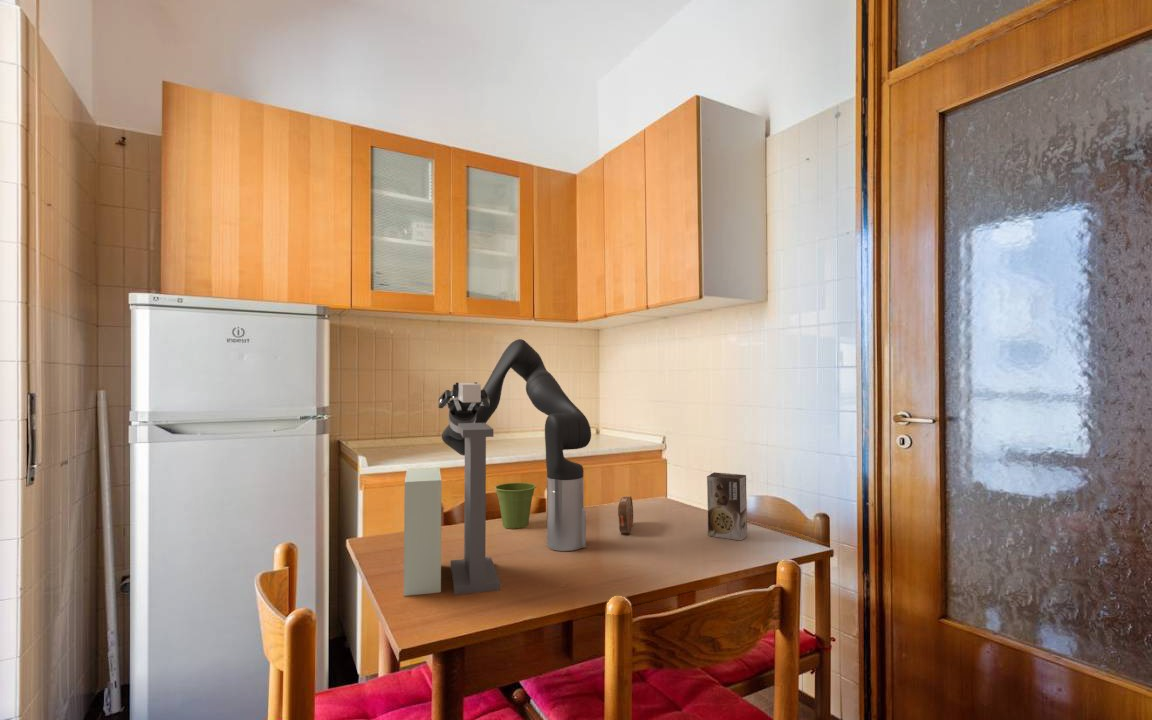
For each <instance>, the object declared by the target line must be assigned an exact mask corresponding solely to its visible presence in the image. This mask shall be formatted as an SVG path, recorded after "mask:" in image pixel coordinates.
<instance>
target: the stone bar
mask: <svg viewBox="0 0 1152 720" xmlns="http://www.w3.org/2000/svg"><path fill="white" fill-rule="evenodd" d="M458 383H459V392H458V396H457V397H458V399H459V400H460V401H461V402H463V403H466V402H481V390H482V386H481V385H482V384H479V383H477V384H476V383H474V382H458Z"/></svg>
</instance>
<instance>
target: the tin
mask: <svg viewBox="0 0 1152 720" xmlns="http://www.w3.org/2000/svg"><path fill="white" fill-rule="evenodd" d="M633 504H634V503H633V498H632V496H622V497H621V499H620V501H619V502H618V506H617V507H618V508H617V516H618V523H619V524H618V530H619V533H620V534H629V535H630V534H631V532H632V529H633V526H634V507H633Z"/></svg>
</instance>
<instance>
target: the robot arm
mask: <svg viewBox="0 0 1152 720" xmlns="http://www.w3.org/2000/svg"><path fill="white" fill-rule="evenodd" d="M510 369H512V370H513V371H514V372H515V373H516V374H517V375H518V376H520V377H521V378H522V379H523V380H524V381H525V382H526V383H525V392H526V395H527V397H528V398H529V400H530V402H531V404H533V407H535V409H537V411H540V412H541V413H543V414H544V415H546V416H547V417H546V419H545V423H544V443H545V464H546V547H547V548H548V549H550V550H553V551H559V552H561V551H562V552H569V551H570V552H571V551H576V550H580V549H582V548H583V549H584V548H586V547H587V509H586V507H584V499H585V498H584V497H585V496H584V475H585V474H584V471H585V470H584V466H583V465H582V464H581V463H578V462H574V461H572V460H569V459H567V458H566V457H565V455H564V451H568V450H580V449H584V448H585V447H587V446H588V445H589V443H590V441H591V439H592V429H591V425H590V423H589V420H588V419H587V417H586V415H585V414H584V413H583V411H581V410H580V409H579V408H578V407H577V406H576V405H575V404H574V403H573V402H572V400H571V399H570V398H569V397H568V395H567V394H566V393H565V392H564V390H563V389H562V387H561V386H560V383H558V381H557V380H556V378H555V376H553V374H551V372H549V371H548V370H547V368H546V366H545V364H544V361H543V360H542V357H541V355H540V354H539V353H538V352H537V351H536V350H535V348H533V347H532V346H531V345H530V344H529V342H527V341H525V340H524V339H522V338H519V339H516V340H513V341H512V342H511V343H510V344H509V345H508V346H507V347H506V349H505V350H504V351H503V353H502V354H501V356H500V358H499V360H498V361H497V363H496V365H495V366H494V369H493V370H492V372H491V373H490V376H489V378H488V379H487V382H486V383H485V385H484V387H483V388H481V402H466V403H463V402H461V401H460V400H459V399H458V397H457V396H458V392H459V383H460V382H455V384H454V383H453V384H452V388H451V389H452V390H450V389H446V390H445V391H444V392H443V393H441V395H440V397H439V398H438V409H443V408H444V407H448V408H447V409H448V425H447V426H446V427H445V429H443V432H442V433H441V440H442V442H443V443H444V444H445V445H447V446H448V447H449V448H451V449H452V450H454V451H455V452H456V453H458V454H459V455H461V456H465V438H463V437H462V435H461V434H460V432H459V431H458V423H486V424H487V423H488V421H489V420H490V418H491V417H492V415H493V414H494V413H495V412H496V410H497V408H498V406H499V404H500V401H501V395H502V390H503V385H504V382H505V381H504V380H505V379H506V376H507V373H508V372H509V371H510ZM473 383H476V384H478V382H473Z"/></svg>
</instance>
